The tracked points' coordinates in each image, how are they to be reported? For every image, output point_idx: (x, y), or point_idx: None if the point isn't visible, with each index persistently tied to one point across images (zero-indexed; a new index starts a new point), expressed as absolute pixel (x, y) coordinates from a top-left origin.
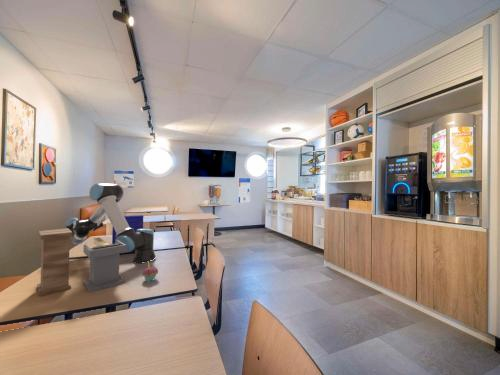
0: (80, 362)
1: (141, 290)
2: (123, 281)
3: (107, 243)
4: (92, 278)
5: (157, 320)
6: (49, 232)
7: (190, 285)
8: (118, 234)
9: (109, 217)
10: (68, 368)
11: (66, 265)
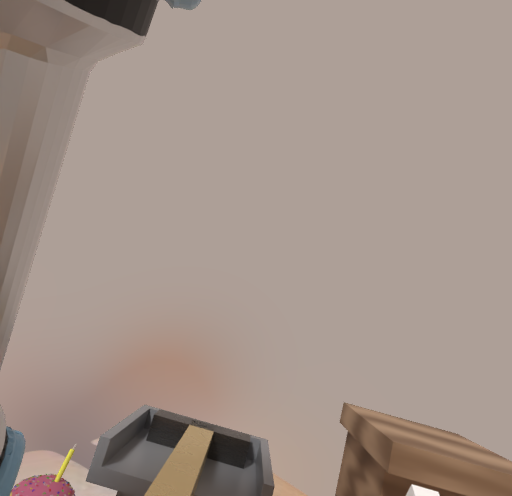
0: (282, 484)
1: None
2: None
3: (187, 432)
4: None
5: None
6: (453, 441)
7: (35, 453)
8: (3, 445)
9: (16, 298)
10: (293, 487)
11: None
